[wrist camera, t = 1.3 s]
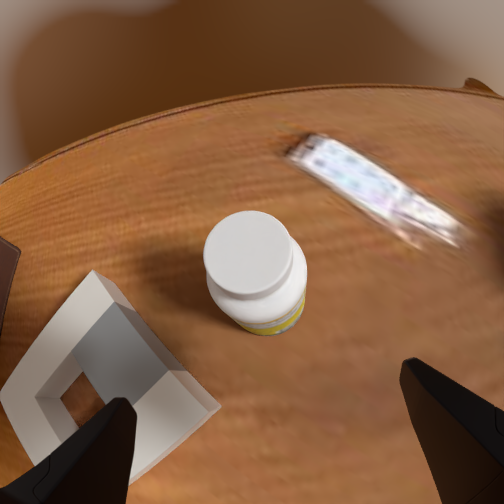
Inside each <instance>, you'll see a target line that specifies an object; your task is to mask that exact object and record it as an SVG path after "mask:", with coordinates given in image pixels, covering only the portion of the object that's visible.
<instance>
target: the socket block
mask: <svg viewBox="0 0 504 504" xmlns="http://www.w3.org/2000/svg"><path fill="white" fill-rule="evenodd" d="M82 372H84V373H85V375H86V376H87V378H88V379H89V381H90V383H91V384H92V386H93V387H94V388H95V390H96V391H97V393H98V394H99V396H100V397H101V399H102V400H103V401H104V403H105V404H107V403H109V402H110V401H111V400H112V399H113V398H115V397H125V398H127V399H128V401H129V402H130V403H131V405H132V406H133V408H134V409H135V411H136V413H137V427H136V438H135V450H134V457H133V463H132V468H131V474H130V479H129V485H130V484H132V483H133V482H134V481H136V480H137V479H138V478H140V477H141V476H142V475H143V474H145V473H146V472H147V471H148V470H150V469H151V468H152V467H153V466H155V465H156V464H157V463H158V462H160V461H161V460H162V459H163V458H165V457H166V456H167V455H168V454H169V453H171V452H172V451H173V450H174V449H175V448H176V447H178V446H179V445H180V444H181V443H182V442H183V441H185V440H186V439H187V438H188V437H189V436H190V435H191V434H193V433H194V432H195V431H196V430H197V429H198V428H199V427H200V426H201V425H203V424H204V423H205V422H206V421H207V420H208V419H209V418H210V417H211V416H212V415H213V414H215V413H216V412H217V411H218V410H219V409H220V408H221V407H222V406H221V405H220V404H219V403H218V402H217V401H216V400H215V399H214V398H213V397H212V396H211V395H210V394H209V393H208V392H207V391H206V390H205V389H204V388H203V387H202V386H201V385H200V384H199V383H198V382H197V381H196V380H195V378H194V377H193V376H192V375H191V374H190V373H189V372H188V371H187V370H186V369H185V368H184V367H183V366H182V365H181V363H180V362H179V361H178V360H177V359H176V358H175V357H174V356H173V355H172V353H171V352H170V351H169V350H168V349H167V348H166V347H165V346H164V344H163V343H162V342H161V341H160V340H159V339H158V337H157V336H156V335H155V334H154V333H153V331H152V330H151V329H150V328H149V327H148V325H147V324H146V323H145V322H144V320H143V319H142V318H141V317H140V315H139V314H138V313H137V312H136V310H135V309H134V308H133V307H132V305H131V304H130V303H129V301H128V300H127V299H126V298H125V296H124V295H123V294H122V292H121V291H120V290H119V288H118V287H117V285H116V284H115V283H114V282H112V281H110V280H109V279H107V278H105V277H104V276H102V275H100V274H99V273H97V272H96V271H94V270H92V271H91V272H90V273H89V274H88V275H87V277H86V278H85V279H84V280H83V281H82V282H81V283H80V285H79V286H78V287H77V288H76V289H75V290H74V292H73V293H72V294H71V295H70V296H69V298H68V299H67V300H66V301H65V302H64V304H63V305H62V306H61V307H60V309H59V310H58V311H57V312H56V314H55V315H54V316H53V317H52V319H51V320H50V321H49V322H48V324H47V325H46V326H45V328H44V329H43V330H42V332H41V333H40V334H39V336H38V337H37V338H36V340H35V341H34V342H33V344H32V345H31V346H30V348H29V349H28V351H27V352H26V353H25V355H24V356H23V358H22V359H21V361H20V362H19V364H18V365H17V366H16V368H15V369H14V371H13V372H12V374H11V375H10V377H9V378H8V380H7V382H6V383H5V385H4V386H3V388H2V389H1V391H0V401H1V403H2V405H3V408H4V410H5V412H6V414H7V416H8V418H9V421H10V423H11V425H12V427H13V429H14V431H15V432H16V434H17V436H18V438H19V440H20V442H21V444H22V445H23V447H24V449H25V451H26V452H27V454H28V456H29V458H30V459H31V461H32V462H33V464H34V466H36V465H37V464H38V463H40V462H41V461H42V460H43V459H44V458H46V457H47V456H48V455H49V454H50V455H51V452H53V451H54V450H55V449H56V448H57V447H58V446H60V445H61V444H62V443H63V442H64V441H65V440H67V439H68V438H69V437H70V436H71V435H72V434H73V433H75V432H76V431H77V430H78V429H79V427H78V426H77V424H76V423H75V421H74V420H73V418H72V417H71V415H70V414H69V412H68V410H67V409H66V407H65V406H64V404H63V402H62V401H61V399H60V397H61V396H62V395H63V394H64V393H65V391H66V390H67V389H68V388H69V387H70V386H71V384H72V383H73V382H74V381H75V380H76V379H77V377H78V376H79V375H80V374H81V373H82ZM129 485H128V486H129Z"/></svg>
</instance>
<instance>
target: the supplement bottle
mask: <svg viewBox="0 0 504 504" xmlns="http://www.w3.org/2000/svg"><path fill="white" fill-rule="evenodd" d="M203 259H204V265H205V268H206V271H207V274H206V276H207V285H208V289H209V292H210V294H211V296H212V298H213V300H214V301H215V303H216V304H217V305H218V306H219V308H220V309H221V310H222V311H223V312H224V313H226V314H227V315H228V316H229V317H231V318H232V319H233V320H234V321H235V322H237V323H238V324H239V325H240V326H242V327H243V328H244V329H246V330H247V331H249V332H251V333H254V334H256V335H261V336H274V335H278V334H281V333H283V332H285V331H287V330H289V329H290V328H291V327H292V326H294V324H295V323H296V322H297V321H298V320H299V318H300V316H301V314H302V312H303V308H304V303H305V292H306V281H307V265H306V260H305V257H304V254H303V252H302V250H301V248H300V247H299V245H298V244H297V242H296V241H295V240H294V239H293V238H292V237H291V236H290V235H289V233H288V231H287V230H286V228H285V227H284V226H283V224H282V223H281V222H279V221H278V220H277V219H276V218H274V217H273V216H271V215H269V214H266V213H263V212H259V211H242V212H238V213H235V214H232V215H230V216H228V217H226V218H224V219H223V220H222V221H220V222H219V223H218V224H217V225H216V226H215V227H214V228H213V229H212V231H211V232H210V234H209V235H208V237H207V240H206V242H205V246H204V251H203Z"/></svg>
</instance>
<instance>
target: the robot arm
mask: <svg viewBox="0 0 504 504" xmlns="http://www.w3.org/2000/svg"><path fill="white" fill-rule="evenodd" d="M399 380H400V386H401V389H402V392H403V395H404V399H405V402H406V405H407V409H408V412H409V416H410V419H411V422H412V425H413V428H414V430H415V432H416V435H417V437H418V440H419V442H420V445H421V447H422V450H423V452H424V455H425V457H426V460H427V463H428V465H429V468H430V470H431V473H432V476H433V479H434V481H435V484H436V487H437V490H438V493H439V496H440V499H441V502H442V504H504V411H503V410H501V409H499V408H498V407H495V406H494V405H493V404H491V403H489V402H488V401H486V400H485V399H483V398H481V397H480V396H478V395H476V394H475V393H473V392H471V391H470V390H468V389H467V388H465V387H463V386H462V385H460V384H458V383H457V382H455V381H454V380H452V379H450V378H449V377H447V376H445V375H444V374H442V373H441V372H439V371H437V370H436V369H434V368H432V367H431V366H429V365H427V364H426V363H424V362H423V361H421V360H419V359H418V358H415V357H413V358H409V359H406V360H404V361H403V363H402V367H401V373H400V379H399ZM136 427H137V413H136V411H135V409H134V408H133V406H132V405H131V403H130V402H129V401H128V399H127V398H125V397H115V398H113V399H112V400H111V401H110V402H109V403H107V404H106V405H105V406H104V407H103V408H102V409H101V410H100V411H98V412H97V413H96V414H95V415H94V416H93V417H92V418H91V419H89V420H88V421H87V422H86V423H85V424H84V425H83V426H81V427H80V428H79V429H78V430H77V431H76V432H75V433H73V434H72V435H71V436H70V437H69V438H68V439H67V440H65V441H64V442H63V443H62V444H61V445H60V446H58V447H57V448H56V449H55V450H54V451H53V452H51V455H50V454H49V455H48V456H47V457H46V458H44V459H43V460H42V461H41V462H40V463H38V464H37V465H36V466H35V467H33V468H32V469H31V470H29V471H28V472H26V473H25V474H23V475H22V476H21V477H19V478H18V479H16V480H15V481H13V482H12V483H10V484H9V485H7V486H5V487H3V488H0V504H126V497H127V491H128V485H129V479H130V474H131V468H132V463H133V457H134V450H135V438H136Z"/></svg>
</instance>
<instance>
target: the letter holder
mask: <svg viewBox="0 0 504 504" xmlns="http://www.w3.org/2000/svg"><path fill="white" fill-rule="evenodd" d="M20 254H21V251H20V249H19V248H18V247H16V246H14V245H13V244H11V243H9V242H8V241H6V240H5V239H3V238H2V237H0V336H1V330H2V325H3V319H4V314H5V309H6V305H7V301H8V296H9V292H10V288H11V284H12V280H13V277H14V273H15V270H16V266H17V263H18V260H19V257H20Z"/></svg>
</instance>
